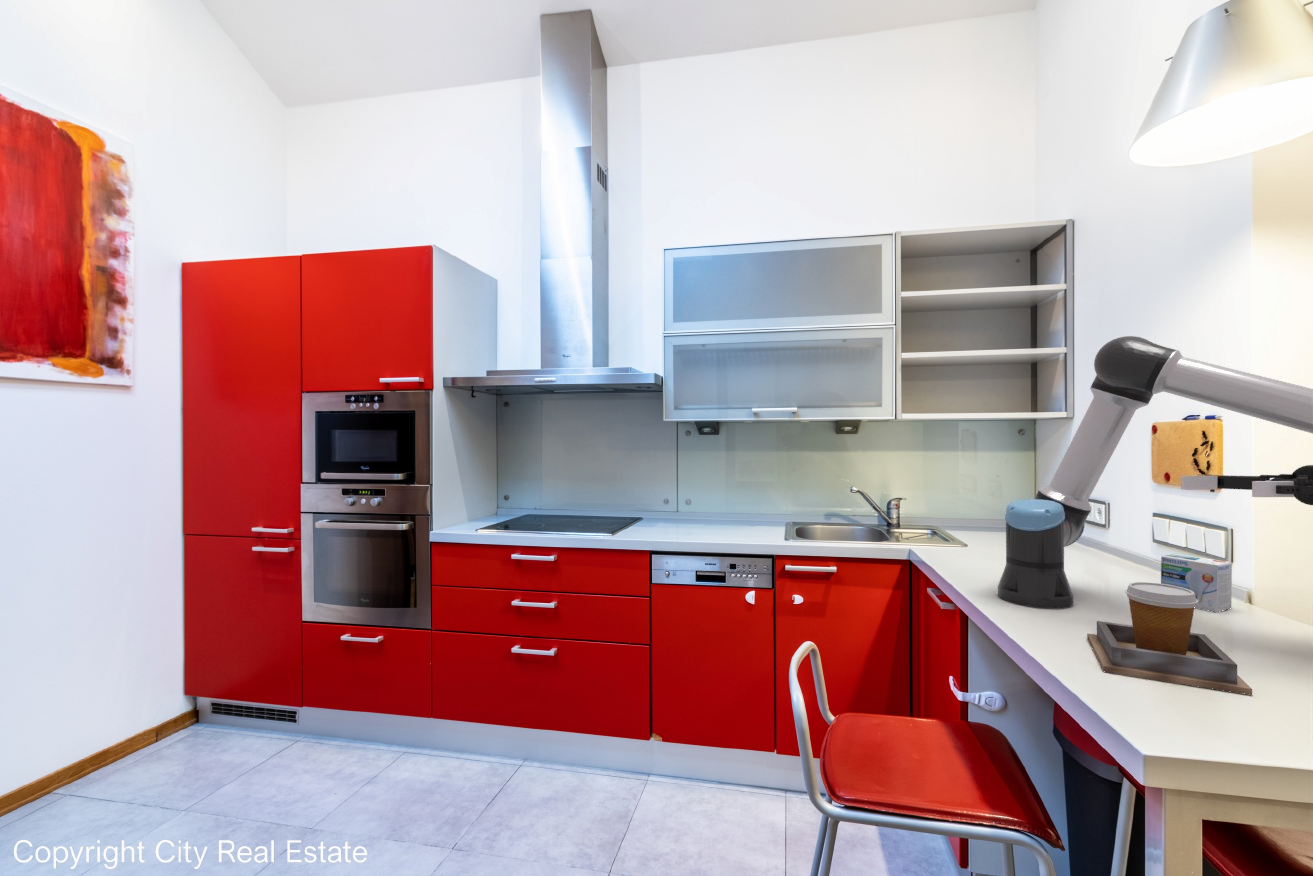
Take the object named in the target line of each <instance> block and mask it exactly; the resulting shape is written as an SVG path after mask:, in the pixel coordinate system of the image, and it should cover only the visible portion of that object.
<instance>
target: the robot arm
mask: <svg viewBox="0 0 1313 876" xmlns="http://www.w3.org/2000/svg"><path fill="white" fill-rule="evenodd" d="M1097 351H1098V352H1097V353H1096V354H1095V358H1094V360H1093V361H1094V363H1093V366H1094V371H1095V374H1096V375H1095V378H1094V379H1093V381H1092V383H1091V386H1090V387H1089V389H1090V391H1091V393H1092V395H1093V398H1092V400H1091V402H1090V404H1089V406H1088V408H1087V410H1086V412H1085V414H1084V416H1083V418H1082V420H1081V422H1080V424H1079V425H1078V427H1077V430H1076V432H1075V433H1074V435H1073V437H1072V439H1071V441H1070V443H1069V445H1068V447H1067V449H1066V451H1065V453H1064V455H1063V457H1062V459H1061V461H1060V463H1059V465H1058V467H1057V469H1056V471H1055V473H1054V475H1053V476H1052V479H1051V481H1050V483H1049V484H1048V485H1047V486H1044V487H1039V489H1038V491H1037V493H1036V495H1035V497H1034V498H1033V499H1022V500H1021V499H1019V500H1014V501H1011V502H1010V503H1009V504H1008V505H1007V506H1006V510H1005V515H1004V517H1005V544H1006V545H1005V565H1004V566H1005V567H1004V569H1003V572H1002V574H1001V577H1000V580H999V582H998V584H997V596H998V597H999V598H1001V599H1002V600H1004V601H1006V602H1009V603H1012V604H1017V605H1021V606H1027V607H1033V608H1042V609H1066V608H1067V609H1068V608H1071V607H1073V606H1074V594H1073V590H1072V588H1071V586H1070V582H1069V579H1068V578H1067V574H1066V572H1065V547H1068V546H1071V545H1073V544H1074V543H1075V542H1078V540H1079V539H1080V538H1081V537H1082V535H1083V534H1084V530H1085V524H1086V523H1085V522H1086V521H1087V519H1088V517H1089V515H1090V513H1091V511H1092V506H1091V504H1090V502H1089V499H1090V497H1091V495H1092V493H1093V491H1094V490H1095V487H1096V486H1097V484H1098V483H1099V480H1100V478H1101V476H1102V475H1103V472H1104V471H1105V469H1106V467H1107V466H1108V464H1109V462H1110V459H1111V457H1112V455H1113V454H1114V452H1115V450H1116V448H1117V446H1118V444H1119V442H1120V441H1121V439H1122V437H1123V436H1124V434H1125V432H1126V430H1127V427H1128V426H1129V424H1130V423H1131V422H1130V421H1132V418H1133V416H1134V415H1135V413H1136V411H1137V410H1139V409H1140V408H1143V407H1146V406H1149V404H1150V401H1151V400H1152V398H1153V396H1154V395H1156V394H1160V393H1162V392H1163V393H1168V394H1172V395H1175V396H1179V397H1181V398H1185V399H1189V400H1193V401H1196V402H1200V403H1203V404H1205V405H1210V406H1214V407H1217V408H1220V409H1221V408H1222V409H1224V410H1227V411H1232V412H1235V413H1239V414H1243V415H1246V416H1248V417H1253V418H1256V419H1260V420H1263V421H1265V422H1266V421H1267V422H1271V423H1273V424H1278V425H1282V426H1285V427H1288V428H1291V429H1294V430H1298V431H1303V432H1307V433H1310V434H1313V388H1311V387H1306V386H1302V385H1299V384H1298V385H1297V384H1295V383H1290V382H1286V381H1282V380H1278V379H1275V378H1274V379H1273V378H1271V377H1266V376H1262V375H1257V374H1254V373H1250V372H1246V371H1241V370H1238V369H1233V368H1229V367H1225V366H1221V365H1218V364H1217V365H1216V364H1213V363H1210V362H1209V363H1208V362H1204V361H1201V360H1197V359H1193V358H1189V357H1184V356H1183V355H1182V353H1181V351H1180V350H1178V349H1174V348H1170V347H1168V346H1167V347H1166V346H1163V345H1160V344H1157V343H1154V342H1152V341H1149V339H1146V338H1143V337H1140V336H1135V335H1134V336H1133V335H1127V336H1126V335H1125V336H1120V337H1117V338H1114V339H1112V340H1110V341H1108V342H1106V343H1105V344H1104V345H1103V346H1102V347H1101V348H1099V350H1097ZM1180 489H1181V490H1185V491H1187V490H1188V491H1190V490H1191V491H1195V490H1198V491H1199V490H1200V491H1201V490H1204V491H1207V490H1208V491H1209V492H1210V493H1215V492H1216V491H1215V490H1218V489H1224V490H1244V491H1245V490H1246V491H1247V490H1251V497H1252V498H1295V499H1296V500H1297V501H1299V502H1300V503H1302V504H1305V505H1308V506H1313V464H1307V465H1303V466H1300V467H1298V468H1296V469H1295V470H1294V471H1293V472H1292V473H1291V474H1290V473H1288V474H1287V473H1279V474H1260V475H1222V474H1221V475H1218V474H1217V475H1215V474H1205V475H1181V476H1180Z"/></svg>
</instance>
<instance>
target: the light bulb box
mask: <svg viewBox="0 0 1313 876" xmlns="http://www.w3.org/2000/svg"><path fill="white" fill-rule="evenodd" d="M1232 566H1233V565H1232V561H1227V560H1219V559H1213V558H1205V557H1199V556H1191V555H1186V554H1179V553H1172V554H1166V555H1162V556H1161V559H1160V584H1167V585H1173V586H1178V587H1182V588H1185V589H1189V590H1191V591H1193V592H1194V593H1195V597H1196V599H1197V600H1198V603H1197V604H1196V607H1195V608H1194V609H1197V608H1200V609H1199V610H1202V609H1205V610H1204V611H1206V610H1209V611H1208V612H1211V611H1214V612H1213V613H1215V612H1218V613H1220V612H1219V611H1222V610H1226V609H1230V608H1231V609H1232V583H1233V581H1232V579H1233V578H1232V577H1233V576H1232V575H1233V571H1232V570H1233V569H1232V568H1233V567H1232ZM1231 609H1230V610H1231ZM1226 611H1227V610H1226ZM1222 612H1223V611H1222Z"/></svg>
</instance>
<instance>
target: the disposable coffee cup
mask: <svg viewBox="0 0 1313 876" xmlns="http://www.w3.org/2000/svg"><path fill="white" fill-rule="evenodd" d="M1124 593H1125V594H1126V596H1127V598H1128V604H1129V609H1130V616H1131V623H1132V624H1131V625H1133V631H1134V637H1135V643H1136V648H1138V649H1145V650H1152V651H1159V652H1166V653H1174V654H1181V655H1186V653H1187V647H1188V641H1189V636H1190V633H1191V630H1192V624H1193V617H1194V612H1195V608H1194V607H1196V604H1197V603H1198V600H1197V599H1196V597H1195V593H1194V592H1193V591H1191V590H1189V589H1185V588H1182V587H1178V586H1173V585H1167V584H1161V582H1159V583H1158V582H1149V581H1148V582H1147V581H1143V582H1142V581H1135V582H1130V583H1128V586H1127V589H1126V590H1125V591H1124Z"/></svg>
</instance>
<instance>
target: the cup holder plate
mask: <svg viewBox="0 0 1313 876" xmlns="http://www.w3.org/2000/svg"><path fill="white" fill-rule="evenodd" d="M1086 635H1087V636H1086V639H1087V641H1088V643H1089V645H1090V647H1091V649H1092V648H1093V649H1092V652H1093V653H1094V655H1095V658H1096V659H1097V662H1098V661H1099V662H1098V663H1100V664H1099V666H1100V665H1101V666H1100V667H1102V668H1101V669H1103V670H1102V672H1103V671H1105V672H1104V673H1107V672H1111V673H1110V674H1114V673H1116V674H1115V675H1120V674H1121V676H1126V675H1129V676H1128V677H1132V676H1134V677H1133V678H1139V677H1140V679H1145V678H1147V679H1146V680H1151V679H1152V680H1151V681H1158V682H1164V683H1170V684H1171V683H1172V684H1176V685H1177V684H1178V685H1182V684H1186V685H1185V686H1189V685H1193V686H1192V687H1195V686H1199V687H1198V688H1201V687H1206V688H1205V689H1207V688H1213V689H1212V690H1214V689H1218V690H1217V691H1220V690H1224V691H1223V692H1226V691H1231V692H1230V693H1232V692H1238V693H1245V694H1250V695H1249V696H1251V695H1252V696H1253V689H1252V687H1251V686H1249V684H1248V683H1247V682H1245V680H1243V678H1241V677H1240V676H1239V675H1238V664H1237V663H1236V662H1235V661H1234V660H1233V659H1232V658H1231V657H1229V655H1227V654H1226V653H1225V651H1223V650H1222V649H1221V648H1220V647H1219V646H1218V645H1217V644H1215V642H1214V641H1212V640H1211V639H1210V638H1209V637H1208V636H1207V635H1206V634H1204V633H1194V632H1190V636H1189V641H1188V647H1187V653H1186V655H1181V654H1174V653H1166V652H1159V651H1152V650H1145V649H1138V648H1136V643H1135V637H1134V631H1133V624H1131V625H1130V624H1125V623H1115V622H1109V621H1100V620H1096V633H1094V634H1093V633H1088V632H1087V634H1086ZM1238 693H1237V694H1238ZM1245 694H1244V695H1245Z"/></svg>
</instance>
